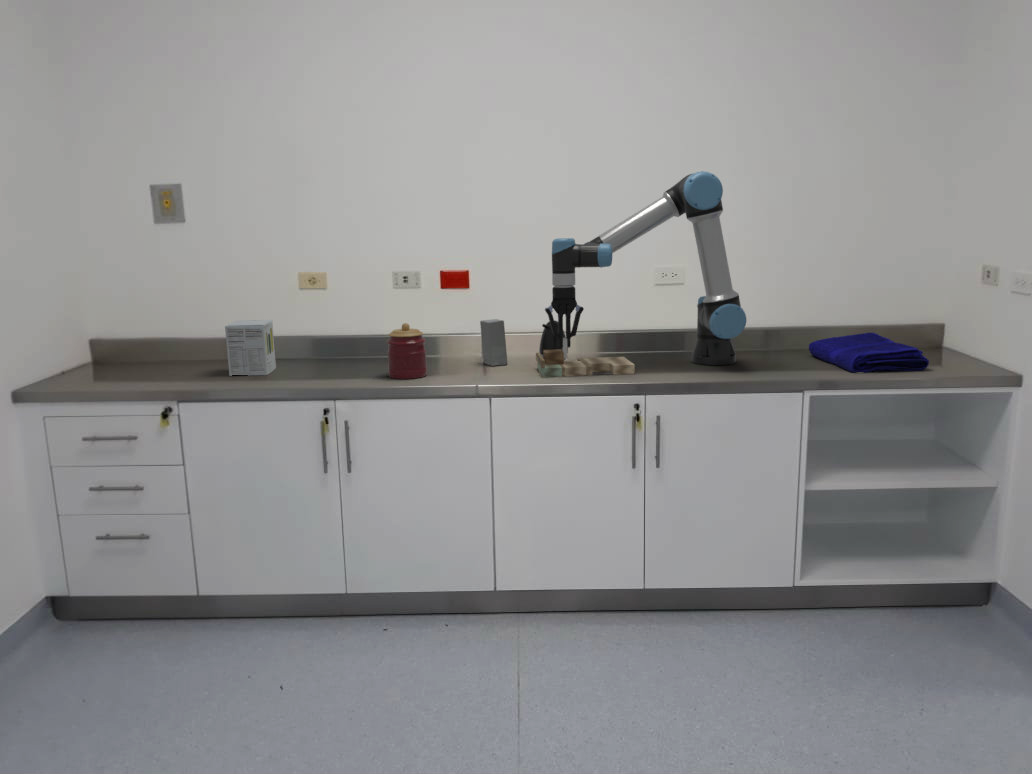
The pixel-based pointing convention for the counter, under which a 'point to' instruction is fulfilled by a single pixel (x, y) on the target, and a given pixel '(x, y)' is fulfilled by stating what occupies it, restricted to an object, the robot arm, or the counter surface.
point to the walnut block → (553, 357)
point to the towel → (868, 353)
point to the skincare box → (493, 342)
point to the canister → (406, 353)
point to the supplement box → (250, 347)
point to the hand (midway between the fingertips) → (564, 357)
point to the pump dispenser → (549, 339)
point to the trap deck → (586, 367)
